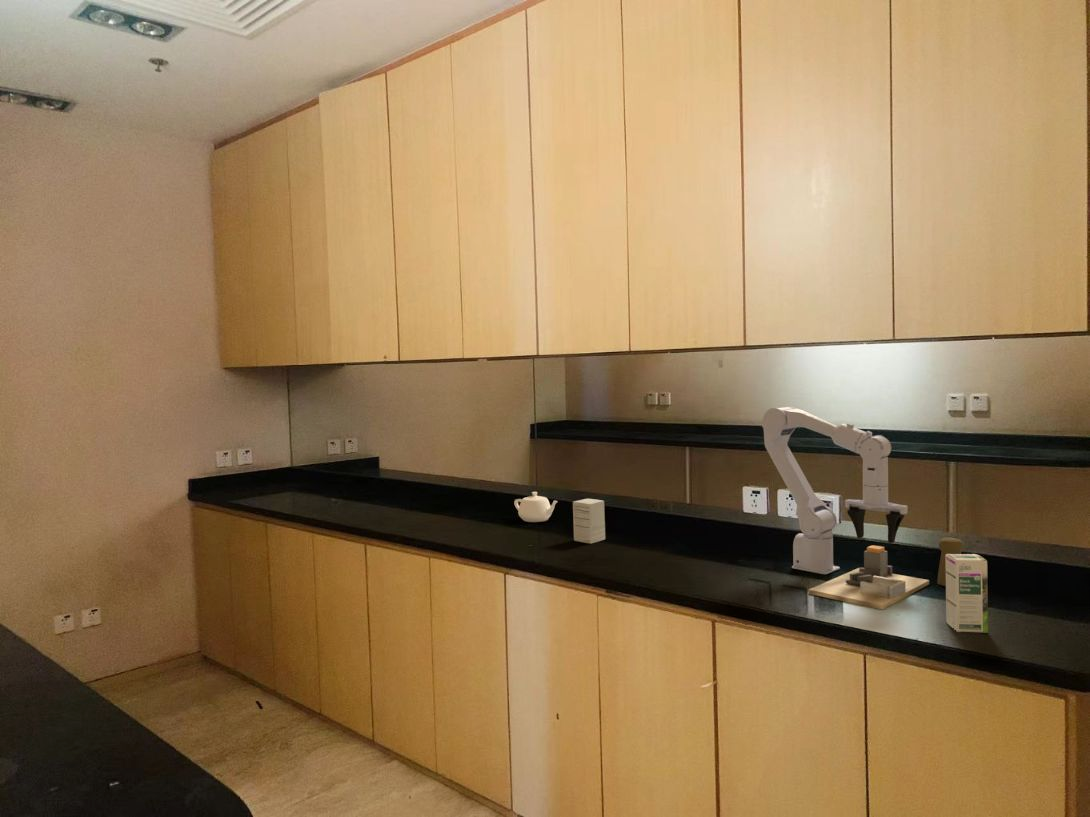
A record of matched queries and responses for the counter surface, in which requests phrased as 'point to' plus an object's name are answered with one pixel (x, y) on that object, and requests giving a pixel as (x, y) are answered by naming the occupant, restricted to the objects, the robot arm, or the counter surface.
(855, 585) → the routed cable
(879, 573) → the clip
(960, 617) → the syrup box
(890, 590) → the end holder
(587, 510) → the supplement box
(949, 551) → the cork
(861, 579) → the middle clip
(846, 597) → the board
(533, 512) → the teapot
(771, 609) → the counter surface
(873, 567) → the grey upright block
